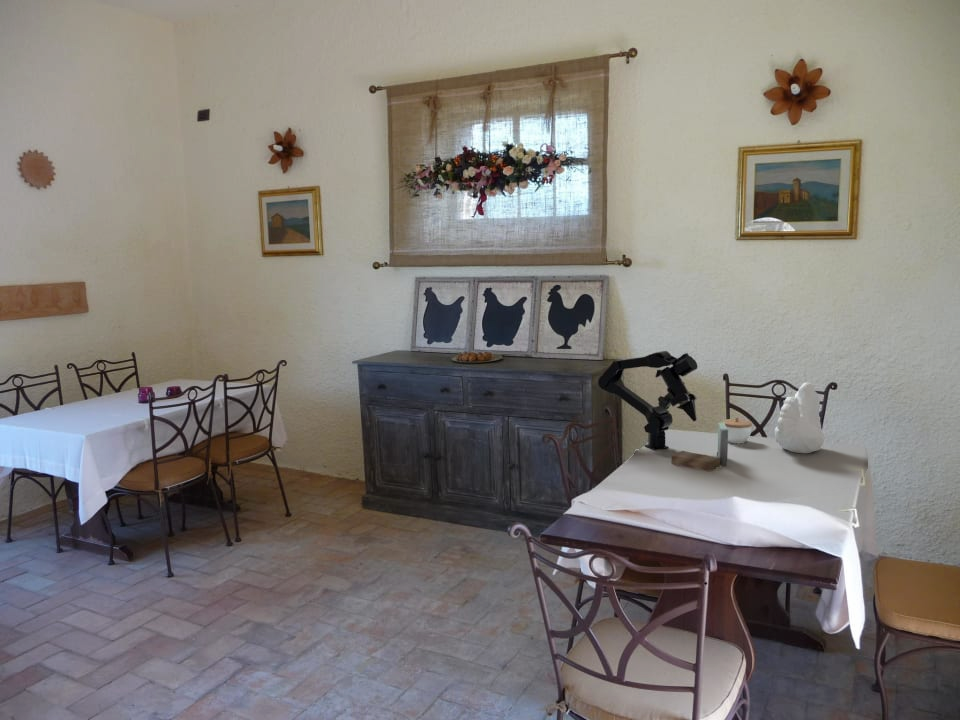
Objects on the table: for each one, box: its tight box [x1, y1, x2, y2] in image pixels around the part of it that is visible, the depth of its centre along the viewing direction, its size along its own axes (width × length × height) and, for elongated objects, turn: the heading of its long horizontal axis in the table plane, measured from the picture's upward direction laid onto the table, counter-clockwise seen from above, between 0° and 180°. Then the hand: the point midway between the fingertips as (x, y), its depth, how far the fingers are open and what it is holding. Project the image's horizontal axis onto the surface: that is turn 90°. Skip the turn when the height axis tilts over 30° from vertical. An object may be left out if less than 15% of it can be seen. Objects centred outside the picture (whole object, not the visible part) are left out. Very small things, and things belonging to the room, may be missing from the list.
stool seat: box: [670, 450, 721, 472], centre depth 242 cm, size 14×8×3 cm, turn 46°
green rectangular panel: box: [716, 421, 729, 466], centre depth 245 cm, size 13×2×12 cm, turn 166°
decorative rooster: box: [774, 381, 825, 454], centre depth 255 cm, size 25×16×25 cm, turn 120°
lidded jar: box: [721, 417, 753, 445], centre depth 272 cm, size 11×11×9 cm
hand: (695, 420), depth 254 cm, fingers closed
